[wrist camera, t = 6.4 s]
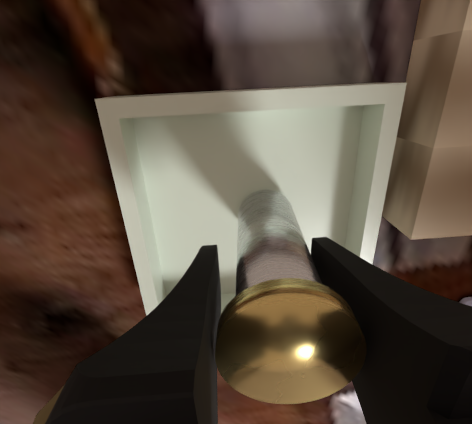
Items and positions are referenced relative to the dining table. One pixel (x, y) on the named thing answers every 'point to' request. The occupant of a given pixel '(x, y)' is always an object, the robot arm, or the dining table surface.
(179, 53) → the dining table surface
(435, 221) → the hitch block
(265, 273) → the pin
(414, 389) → the robot arm
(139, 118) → the tray
